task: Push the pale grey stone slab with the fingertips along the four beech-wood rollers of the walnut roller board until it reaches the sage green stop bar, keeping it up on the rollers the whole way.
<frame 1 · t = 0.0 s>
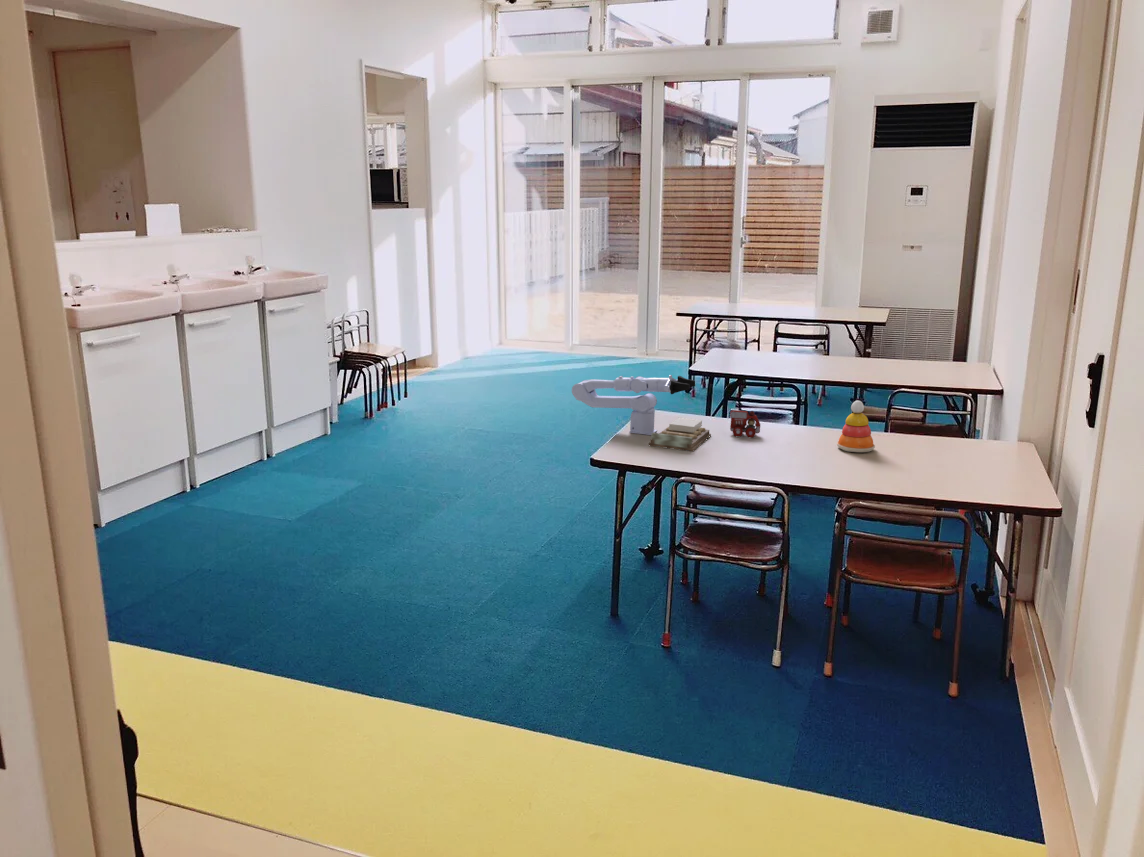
hand: (692, 385, 356), 22 cm above the table, tool horizontal, fingers open, 7 cm apart
roller board: (680, 440, 357), on the table
stone slab: (685, 427, 362), point 4 cm above the table, touching roller board
toy fire truck: (744, 436, 366), on the table
stacking toy: (855, 449, 348), on the table
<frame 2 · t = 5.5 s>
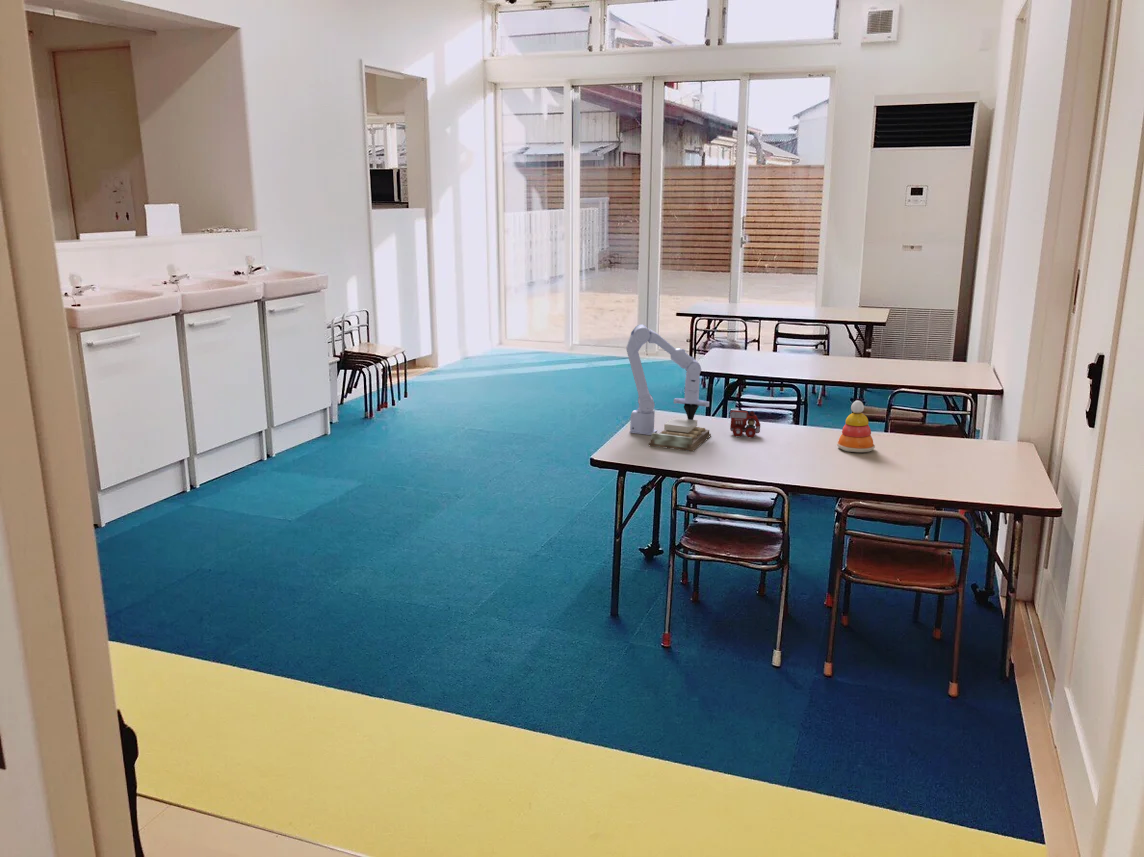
hand: (690, 422, 367), 5 cm above the table, tool pointing down, fingers closed
stone slab: (680, 427, 362), point 4 cm above the table, touching roller board
everything else where it was.
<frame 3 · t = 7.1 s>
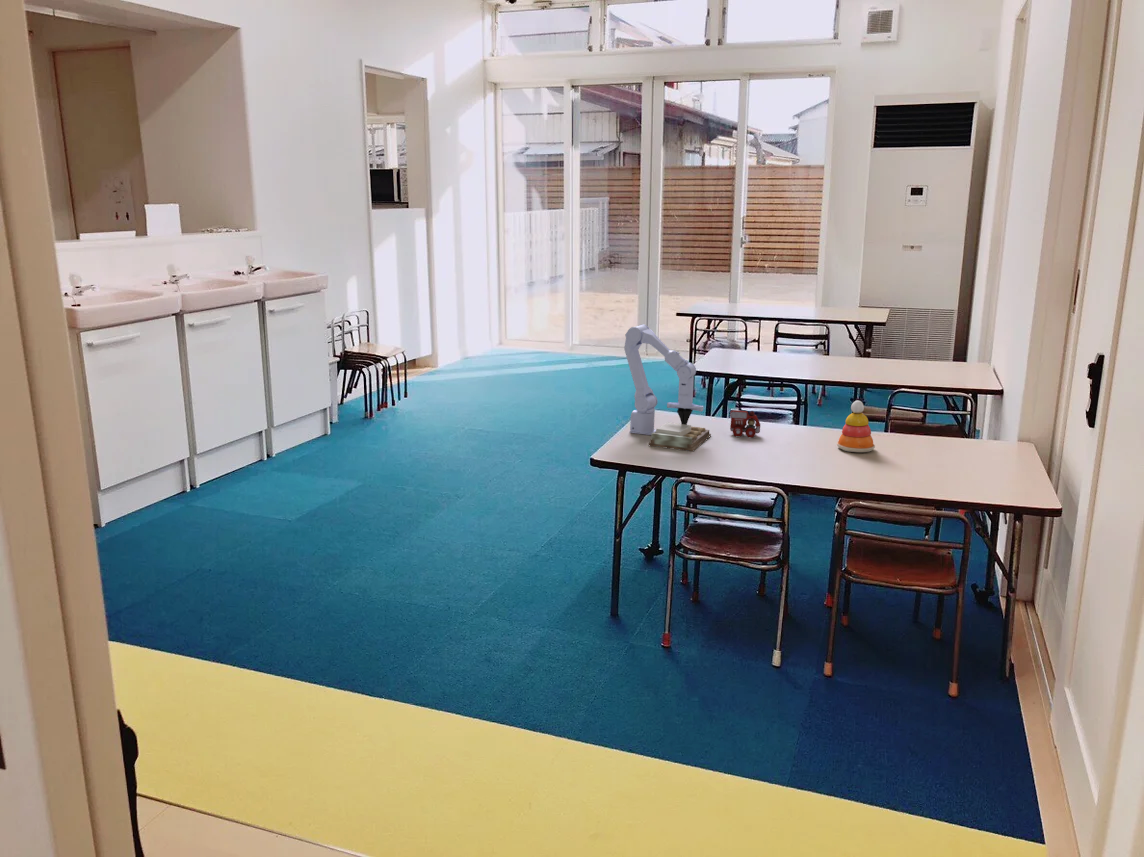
hand: (684, 426, 360), 5 cm above the table, tool pointing down, fingers closed
stone slab: (673, 432, 354), point 4 cm above the table, touching roller board
everything else where it was.
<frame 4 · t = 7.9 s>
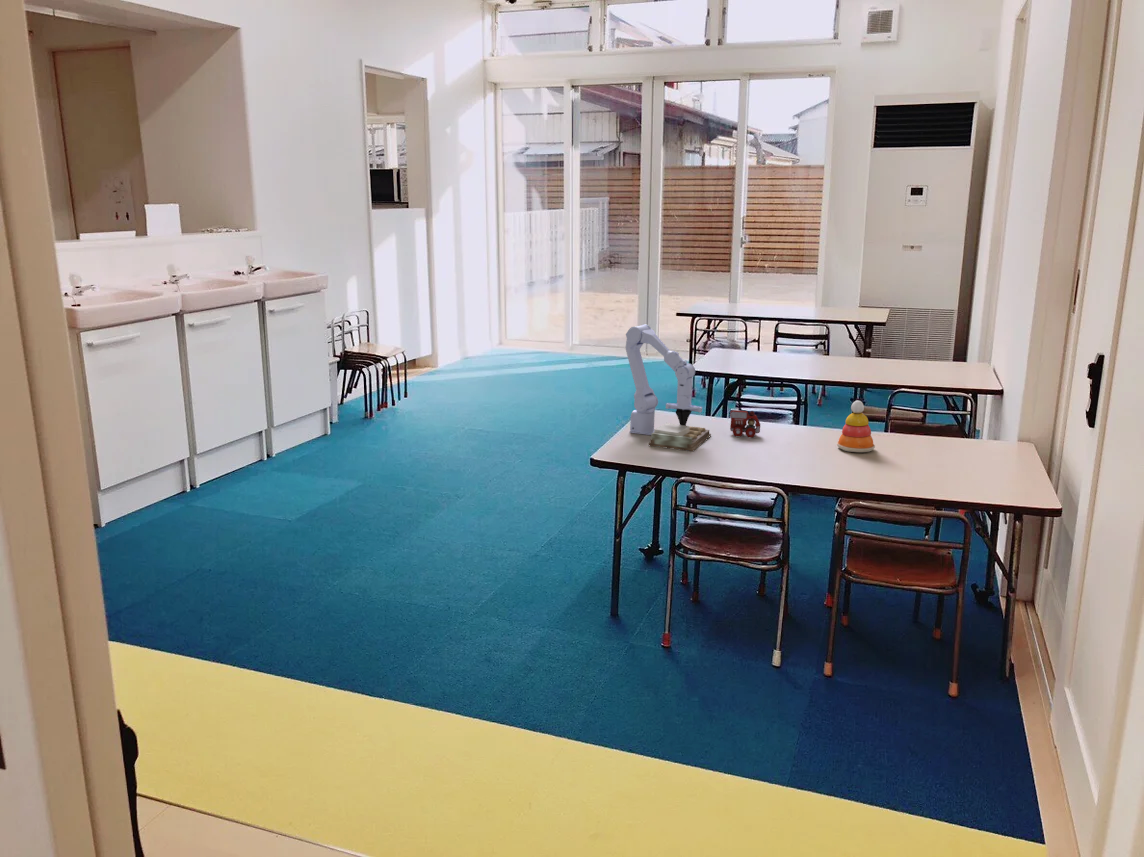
hand: (682, 427, 358), 5 cm above the table, tool pointing down, fingers closed, pressing on stone slab
stone slab: (671, 433, 353), point 4 cm above the table, touching gripper, roller board
everything else where it was.
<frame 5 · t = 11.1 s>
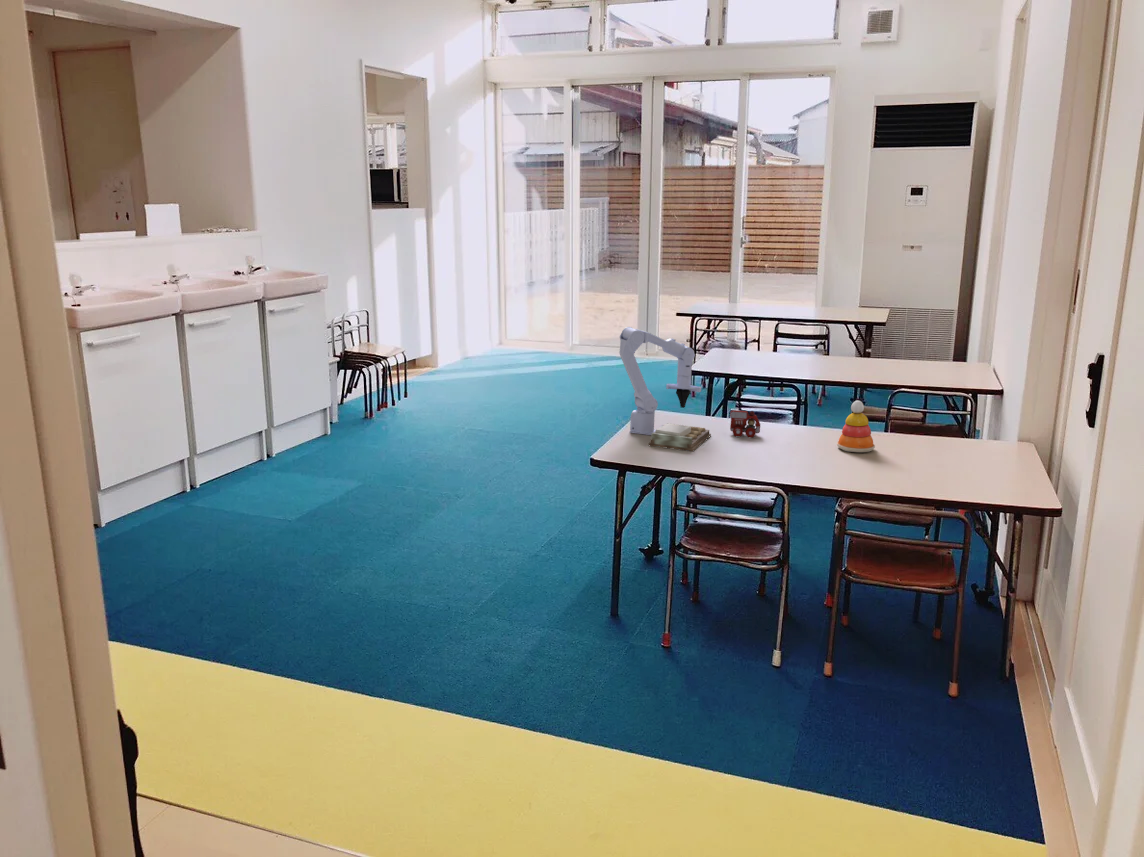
hand: (682, 407, 372), 9 cm above the table, tool pointing down, fingers closed
stone slab: (673, 433, 353), point 4 cm above the table, touching roller board
everything else where it was.
at the end: stone slab 1.7 cm from the target spot, point 3.7 cm above the table; stone slab touching roller board; stone slab tilted 0° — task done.
